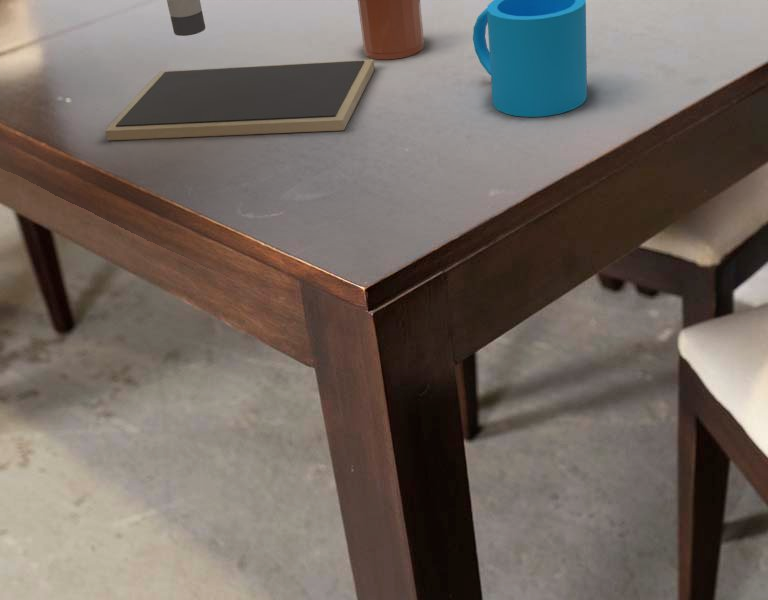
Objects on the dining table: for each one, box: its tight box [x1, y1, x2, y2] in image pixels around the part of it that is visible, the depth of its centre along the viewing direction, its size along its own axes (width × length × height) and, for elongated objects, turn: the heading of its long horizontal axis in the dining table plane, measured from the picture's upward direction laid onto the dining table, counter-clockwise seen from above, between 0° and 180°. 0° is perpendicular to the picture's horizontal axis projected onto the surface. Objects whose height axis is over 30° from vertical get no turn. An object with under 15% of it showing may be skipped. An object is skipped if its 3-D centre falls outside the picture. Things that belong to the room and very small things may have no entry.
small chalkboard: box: [105, 58, 376, 141], centre depth 103 cm, size 22×15×1 cm
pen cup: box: [357, 0, 425, 61], centre depth 109 cm, size 6×6×8 cm
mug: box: [472, 0, 588, 118], centre depth 95 cm, size 12×8×8 cm
